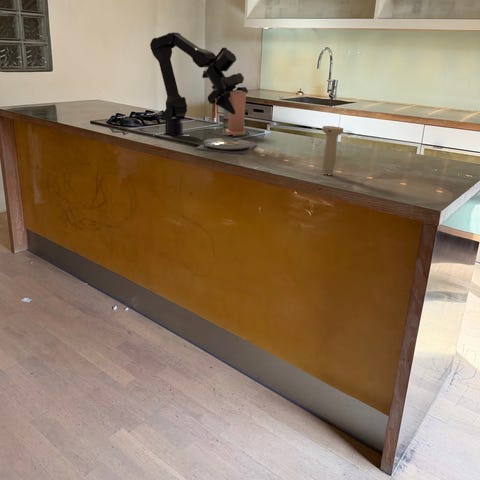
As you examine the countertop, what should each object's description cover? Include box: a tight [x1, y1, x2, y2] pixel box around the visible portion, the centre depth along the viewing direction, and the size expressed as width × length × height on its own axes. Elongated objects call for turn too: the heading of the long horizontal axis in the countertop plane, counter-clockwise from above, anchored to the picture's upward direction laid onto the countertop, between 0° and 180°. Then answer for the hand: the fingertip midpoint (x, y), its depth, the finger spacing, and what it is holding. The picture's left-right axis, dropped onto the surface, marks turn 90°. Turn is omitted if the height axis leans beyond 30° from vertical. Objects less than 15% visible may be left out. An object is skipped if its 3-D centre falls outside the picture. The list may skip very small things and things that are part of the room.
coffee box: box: [222, 98, 237, 137], centre depth 212 cm, size 9×6×16 cm
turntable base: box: [194, 142, 257, 156], centre depth 188 cm, size 19×19×1 cm
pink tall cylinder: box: [226, 89, 247, 136], centre depth 184 cm, size 8×8×16 cm
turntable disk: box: [203, 137, 250, 150], centre depth 187 cm, size 18×18×1 cm
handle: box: [321, 125, 344, 175], centre depth 152 cm, size 5×6×15 cm
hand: (239, 113), depth 184 cm, fingers closed on pink tall cylinder, 6 cm apart
